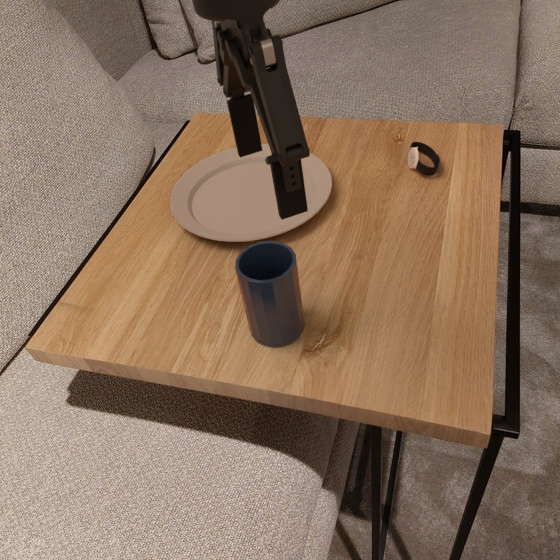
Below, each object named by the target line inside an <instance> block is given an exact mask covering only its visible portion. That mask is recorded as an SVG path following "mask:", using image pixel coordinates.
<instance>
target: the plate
mask: <svg viewBox="0 0 560 560" xmlns="http://www.w3.org/2000/svg"><path fill="white" fill-rule="evenodd" d="M261 144H262V150H263V151H259V152H256V153H253V154H250V155H247V156H243V157H239V155H238V152H237V147H236V146H235V147H231V148H227V149H224V150H222V151H218V152H216V153H213V154H211V155H208V156H206V157H204V158H203V159H201V160H200V161H197V162H196V163H195V164H193V165H192V166H190V167H189V168H188V169H186V170H185V171H184V173H182V175H181V176H180V177H179V178H178V179H177V181H176V182H175V184H174V185H173V188H172V189H171V193H170V196H169V210H170V213H171V215H172V217H173V219H174V220H175V221H176V222H177V224H178V225H180V226H181V227H182V228H183V229H185V230H186V231H188V232H190V233H191V234H193V235H195V236H198V237H201V238H204V239H206V240H213V241H219V242H229V243H233V242H234V243H239V242H252V241H253V242H254V241H259V240H265V239H268V238H272V237H276V236H278V235H282V234H285V233H287V232H289V231H291V230H294V229H296V228H298V227H299V226H301V225H304V223H305V224H306V222H308V221H309V220H311V219H312V218H313V217H314V216H315V215H316V214H317V213H319V212H320V211H321V210H322V209H323V207H324V206H325V205H326V203H327V202H328V200H329V198H330V195H331V193H332V189H333V179H332V174H331V172H330V169H329V167H328V166H327V165H326V164H325V162H324V161H323V160H322V159H320V157H318V156H316V155H315V154H313V153H312V152H310V155H309V157H306V158H303V159H301V163H302V171H303V178H304V186H305V193H306V200H307V208H308V211H307V212H304V213H301V214H298V215H295V216H292V217H289V218H286V219H283V220H282V219H281V218H280V216H279V212H278V207H277V201H276V195H275V190H274V184H273V178H272V173H271V167H270V164H269V165H267V163H266V161H265V159H266V157H267V156H271V154H272V153H271V150H270V147H269V144H268V143H261Z"/></svg>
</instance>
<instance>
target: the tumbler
mask: <svg viewBox="0 0 560 560" xmlns="http://www.w3.org/2000/svg"><path fill="white" fill-rule="evenodd" d="M234 266H235V267H234V270H235V274H236V278H237V281H238V286H239V291H240V295H241V298H242V304H243V308H244V312H245V316H246V320H247V325H248V329H249V332H250V334H251V336H252V338H253V339H254V340H255V341H256V342H257V343H258V344H260V345H262V346H265V347H268V348H281V347H285V346H288V345H290V344H293V343H294V342H296V341H297V340H298V339H299V338H300V337H301V336H302V334H303V333H304V331H305V324H306V322H305V314H304V313H305V312H304V306H303V299H302V291H301V284H300V275H299V268H298V260H297V255H296V252H295V251H294V249H293V248H292V247H291V246H289V245H288V244H286V243H284V242H281V241H277V240H276V241H275V240H265V241H258V242H256V243H253V244H250V245H248V246H247V247H246V248H244V249H243V250H241V251H240V252H239V254H238V256H237V257H236V259H235V265H234Z"/></svg>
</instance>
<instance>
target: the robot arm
mask: <svg viewBox="0 0 560 560" xmlns="http://www.w3.org/2000/svg"><path fill="white" fill-rule="evenodd" d="M191 1H192V6H193V9H194V12H195V14H196V15H197V16H198V17H199V18H201V19H202V20H203V19H204V20H207V21H210V22H211V28H212V37H213V47H214V57H215V67H216V76H217V78H216V81H217V83H218V84H219V86H220V87H222V93H223V95H224V96H225V98H226V99H227V100H226V105H227V109H228V113H229V118H230V124H231V127H232V132H233V137H234V142H235V147H237V152H238V155H239V157H243V156H247V155H250V154H253V153H256V152H259V151H263V150H262V144H263V143H262V139H261V135H260V129H259V123H258V119H259V122H260V124H261V127H262V130H263V133H264V135H265V138H266V141H267V144H269V147H270V150H271V153H272V154H271V156H267V157H266V159H265V161H266V163H267V165H269V164H270V167H271V173H272V178H273V184H274V190H275V195H276V201H277V207H278V212H279V216H280V218H281V219H282V220H283V219H286V218H289V217H292V216H295V215H298V214H301V213H304V212H307V211H308V208H307V200H306V193H305V186H304V178H303V171H302V163H301V159H303V158H306V157H309V155H310V153H311V152H310V151H311V150H310V147H309V146H308V145H309V144H308V141H307V138H306V134H305V130H304V126H303V122H302V119H301V115H300V112H299V108H298V105H297V101H296V97H295V94H294V90H293V86H292V83H291V79H290V74H289V71H288V68H287V63H286V62H287V61H286V57H285V51H284V46H283V45H284V41H283V39H282V38H281V36H280V34H275V35H273V34H272V31H271V29H270V27H269V28H267V27H266V22H265V21H264V17H265V14H266V13H267V12H269V10H270V9H274V8H275V7H276V6H277V5H278V4H279V3H280V2H281V0H191ZM249 92H250V93H249ZM245 93H247V94H245ZM228 98H229V99H228ZM256 112H257V113H256ZM257 115H258V116H257ZM257 117H258V118H257Z"/></svg>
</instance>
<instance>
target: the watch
mask: <svg viewBox="0 0 560 560" xmlns="http://www.w3.org/2000/svg"><path fill="white" fill-rule="evenodd" d="M419 152H420V153H421V154H424V155H425V156H427V157H428V158H429V160H431V162H432V164H433V166H428V165H425V164H423V163H422V162H421V161H420V158H419V154H420V153H419ZM440 164H441V160H440V156H439V154H437V153H436V151H435V150H434V149H433V148H432V147H431V146H429V145H428V144H426V143H424V142H420V141H412V142H411V143H410V147H409V151H408V153H407V166H408V168H409V169H413V170H416V171H417V172H418V173H419V174H421V175H424V176H426V177H427V176H428V177H429V176H430V177H431V176H435V175H436V174H437V172H438V170H439V167H440Z"/></svg>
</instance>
